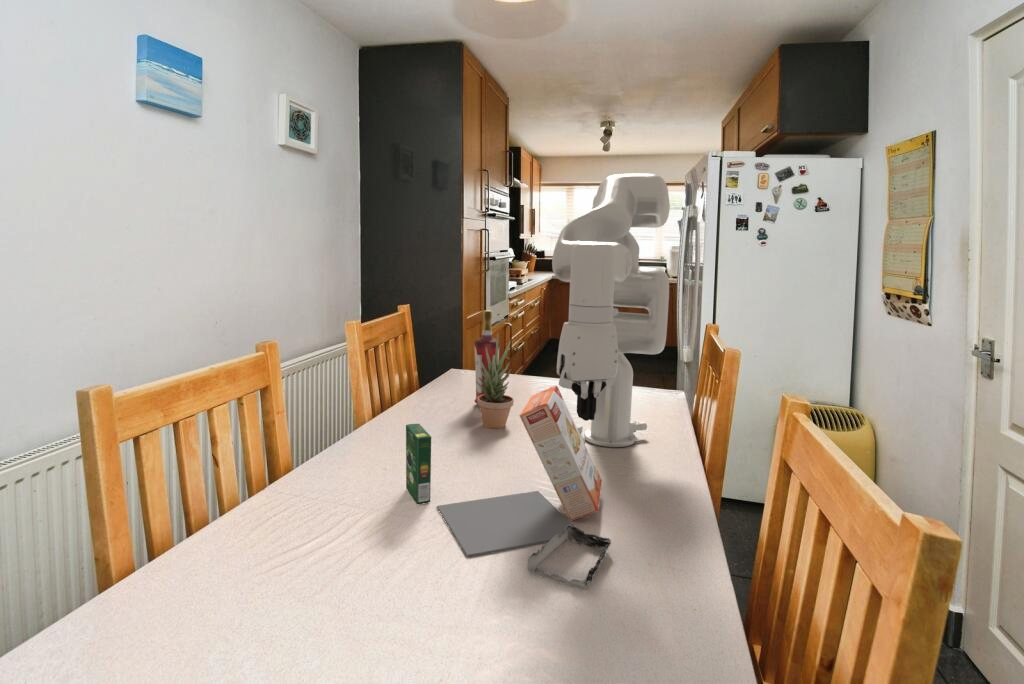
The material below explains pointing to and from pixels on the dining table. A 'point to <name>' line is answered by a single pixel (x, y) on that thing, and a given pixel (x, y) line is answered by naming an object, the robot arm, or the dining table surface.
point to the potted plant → (495, 392)
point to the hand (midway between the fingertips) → (585, 418)
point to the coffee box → (418, 463)
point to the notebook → (503, 522)
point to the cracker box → (562, 452)
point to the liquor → (484, 351)
